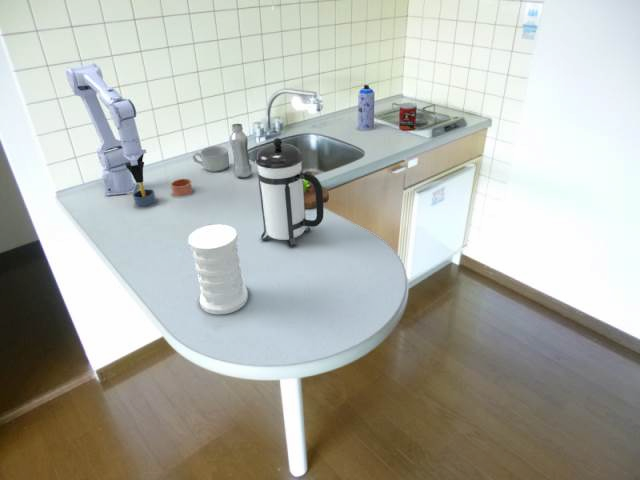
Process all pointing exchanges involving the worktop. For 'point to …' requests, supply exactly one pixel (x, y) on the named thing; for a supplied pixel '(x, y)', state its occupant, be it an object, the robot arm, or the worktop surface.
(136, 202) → the left pot
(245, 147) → the plastic bottle
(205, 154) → the teacup
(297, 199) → the coffee press
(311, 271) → the worktop surface
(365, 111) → the aerosol can
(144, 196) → the pencil
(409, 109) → the canned food
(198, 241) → the decorative container
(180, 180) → the right pot
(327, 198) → the plant
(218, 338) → the worktop surface
